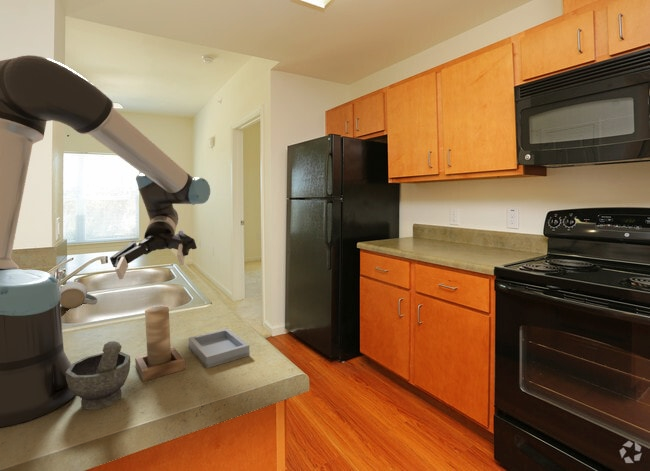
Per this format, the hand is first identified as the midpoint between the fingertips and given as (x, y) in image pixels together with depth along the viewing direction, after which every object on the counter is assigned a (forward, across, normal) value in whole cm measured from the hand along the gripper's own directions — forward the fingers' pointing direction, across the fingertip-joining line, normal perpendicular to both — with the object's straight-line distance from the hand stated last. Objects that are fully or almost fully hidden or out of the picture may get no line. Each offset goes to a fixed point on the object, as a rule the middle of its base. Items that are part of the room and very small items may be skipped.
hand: (150, 267), depth 82 cm
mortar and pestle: (+25, +8, -13) cm, 29 cm away
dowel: (+15, +1, -17) cm, 23 cm away
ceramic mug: (-38, +36, -26) cm, 58 cm away
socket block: (+15, +1, -17) cm, 23 cm away
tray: (+11, -11, -21) cm, 26 cm away
